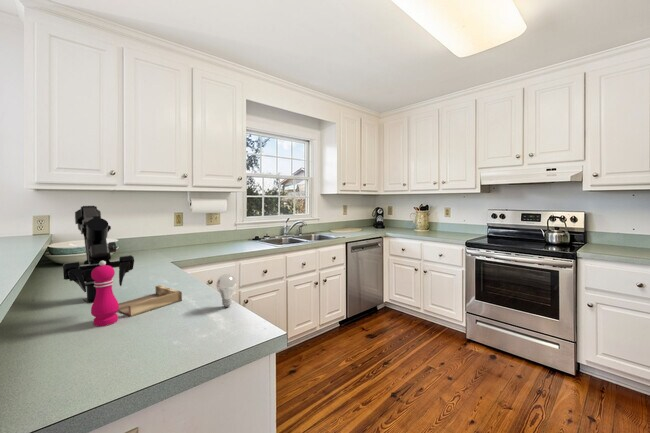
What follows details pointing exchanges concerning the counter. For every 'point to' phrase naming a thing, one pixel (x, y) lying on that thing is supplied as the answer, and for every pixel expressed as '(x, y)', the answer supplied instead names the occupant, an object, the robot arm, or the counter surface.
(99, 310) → the pepper mill
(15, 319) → the counter surface
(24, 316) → the counter surface
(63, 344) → the counter surface
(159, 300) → the brown flat rimmed piece
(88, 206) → the robot arm
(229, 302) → the light bulb
